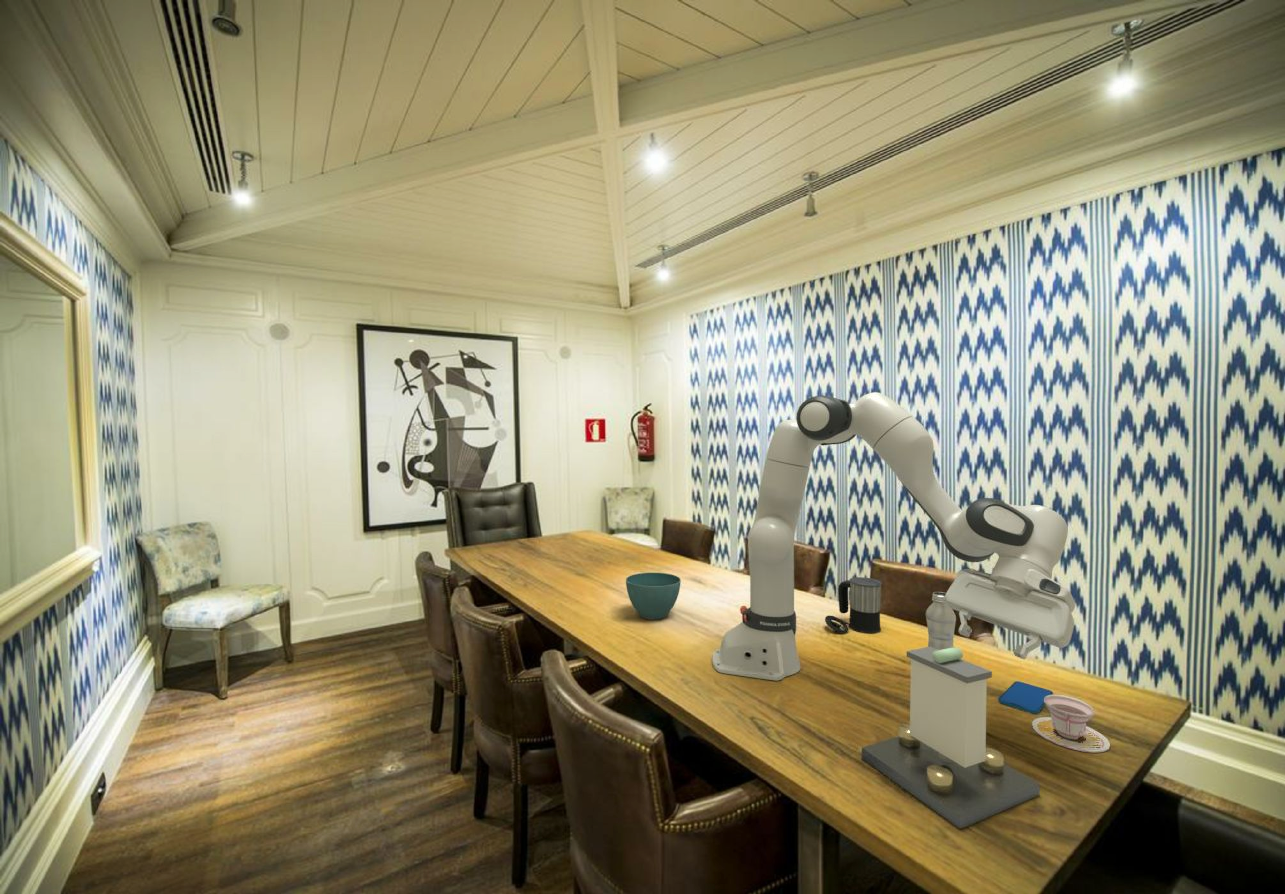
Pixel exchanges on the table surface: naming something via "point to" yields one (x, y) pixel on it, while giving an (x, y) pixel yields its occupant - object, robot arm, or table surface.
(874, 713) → the table surface
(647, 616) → the plant pot
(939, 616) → the plastic bottle
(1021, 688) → the smartphone
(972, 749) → the instrument head
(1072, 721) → the teacup
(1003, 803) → the base
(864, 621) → the milk frother
